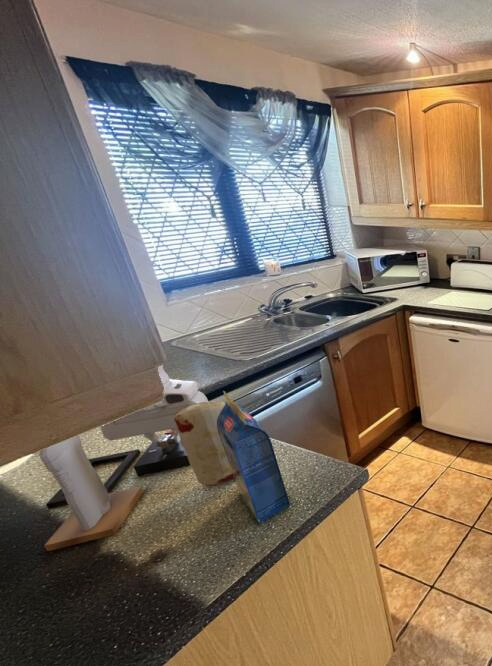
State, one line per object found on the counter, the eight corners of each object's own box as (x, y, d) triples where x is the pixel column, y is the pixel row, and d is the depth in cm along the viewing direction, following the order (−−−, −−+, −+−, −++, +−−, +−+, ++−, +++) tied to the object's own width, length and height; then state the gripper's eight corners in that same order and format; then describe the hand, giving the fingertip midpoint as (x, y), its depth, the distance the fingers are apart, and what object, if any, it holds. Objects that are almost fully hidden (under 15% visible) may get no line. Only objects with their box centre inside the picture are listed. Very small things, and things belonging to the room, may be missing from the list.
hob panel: (137, 477, 90) (132, 466, 89) (157, 450, 99) (152, 440, 97) (194, 464, 93) (190, 454, 92) (207, 440, 102) (204, 430, 101)
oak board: (47, 551, 72) (43, 545, 71) (86, 504, 82) (83, 498, 82) (115, 534, 75) (112, 528, 75) (144, 490, 86) (141, 485, 85)
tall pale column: (94, 498, 82) (47, 411, 74) (119, 491, 84) (76, 406, 76) (71, 536, 73) (15, 443, 65) (100, 527, 75) (49, 435, 67)
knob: (171, 452, 93) (165, 439, 92) (163, 454, 93) (157, 441, 91) (178, 441, 97) (173, 429, 96) (170, 442, 97) (165, 430, 95)
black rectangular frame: (48, 508, 81) (45, 504, 81) (90, 462, 94) (88, 459, 94) (108, 495, 85) (105, 490, 84) (141, 452, 98) (139, 448, 97)
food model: (197, 495, 84) (165, 419, 77) (201, 476, 90) (173, 403, 82) (249, 478, 89) (224, 405, 82) (251, 461, 94) (228, 391, 87)
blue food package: (258, 524, 77) (222, 420, 68) (239, 494, 84) (204, 397, 75) (291, 504, 82) (261, 405, 72) (270, 478, 89) (241, 384, 80)
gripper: (82, 412, 83) (108, 462, 88) (196, 393, 90) (213, 441, 95) (99, 397, 89) (122, 446, 94) (205, 380, 95) (221, 426, 100)
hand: (169, 443), depth 94 cm, fingers closed on knob, 2 cm apart
